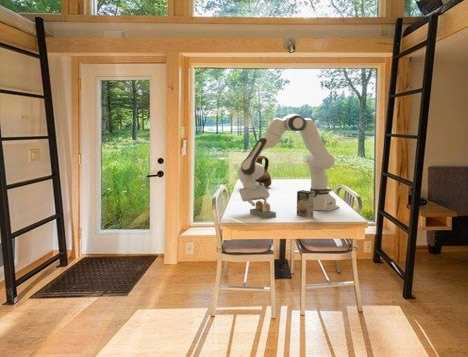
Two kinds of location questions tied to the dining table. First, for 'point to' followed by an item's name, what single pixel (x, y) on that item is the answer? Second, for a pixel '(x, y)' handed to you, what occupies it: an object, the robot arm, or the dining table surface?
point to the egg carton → (263, 215)
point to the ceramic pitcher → (266, 177)
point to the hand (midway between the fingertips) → (259, 204)
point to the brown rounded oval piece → (259, 206)
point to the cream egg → (266, 208)
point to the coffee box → (305, 203)
